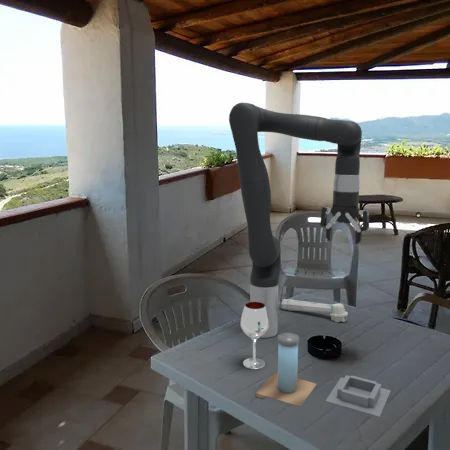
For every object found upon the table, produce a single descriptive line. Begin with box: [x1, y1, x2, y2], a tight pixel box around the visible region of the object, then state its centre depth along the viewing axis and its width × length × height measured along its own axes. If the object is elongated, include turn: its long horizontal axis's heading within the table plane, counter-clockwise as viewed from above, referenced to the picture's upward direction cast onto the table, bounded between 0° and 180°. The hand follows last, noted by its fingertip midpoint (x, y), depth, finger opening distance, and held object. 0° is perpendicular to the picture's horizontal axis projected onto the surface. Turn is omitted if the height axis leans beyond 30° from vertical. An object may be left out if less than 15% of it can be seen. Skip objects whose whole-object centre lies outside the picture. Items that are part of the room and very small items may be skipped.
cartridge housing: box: [325, 374, 392, 418], centre depth 117 cm, size 13×13×4 cm
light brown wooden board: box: [255, 371, 317, 408], centre depth 121 cm, size 12×12×1 cm
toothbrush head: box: [279, 298, 349, 323], centre depth 172 cm, size 5×7×25 cm
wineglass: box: [240, 301, 269, 370], centre depth 134 cm, size 8×8×18 cm
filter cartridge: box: [277, 332, 300, 393], centre depth 120 cm, size 5×5×14 cm
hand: (343, 242), depth 143 cm, fingers open, 8 cm apart
